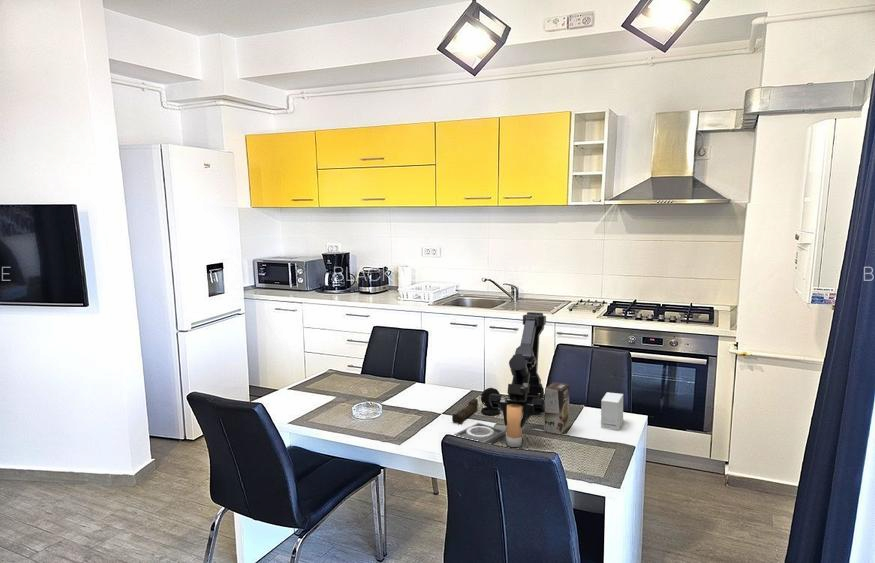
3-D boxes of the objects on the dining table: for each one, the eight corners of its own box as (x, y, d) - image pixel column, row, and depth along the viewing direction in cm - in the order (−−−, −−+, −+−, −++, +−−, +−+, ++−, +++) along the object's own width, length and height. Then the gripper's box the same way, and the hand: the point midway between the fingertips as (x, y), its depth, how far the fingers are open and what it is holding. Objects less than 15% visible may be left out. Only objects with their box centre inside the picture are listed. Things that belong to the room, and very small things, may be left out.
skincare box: (605, 418, 214) (606, 391, 213) (623, 421, 211) (624, 393, 210) (599, 427, 205) (600, 399, 203) (618, 430, 202) (619, 402, 200)
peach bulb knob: (519, 440, 192) (519, 403, 191) (523, 446, 187) (523, 408, 186) (505, 441, 192) (505, 404, 190) (508, 447, 187) (508, 409, 185)
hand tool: (461, 425, 209) (461, 413, 208) (451, 423, 211) (451, 411, 210) (483, 409, 225) (483, 398, 225) (474, 408, 227) (474, 397, 227)
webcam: (497, 408, 225) (497, 384, 224) (503, 415, 218) (503, 390, 217) (478, 410, 224) (478, 385, 223) (483, 416, 217) (483, 391, 215)
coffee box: (560, 435, 198) (561, 390, 196) (543, 431, 202) (544, 387, 200) (569, 426, 206) (570, 383, 204) (552, 423, 209) (553, 381, 207)
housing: (478, 427, 205) (478, 421, 205) (505, 436, 198) (505, 429, 197) (454, 439, 195) (453, 432, 195) (481, 449, 187) (481, 441, 187)
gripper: (490, 370, 193) (481, 412, 184) (544, 375, 187) (539, 419, 178) (495, 386, 202) (487, 427, 193) (547, 391, 196) (542, 433, 187)
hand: (513, 426), depth 187 cm, fingers closed on peach bulb knob, 5 cm apart
